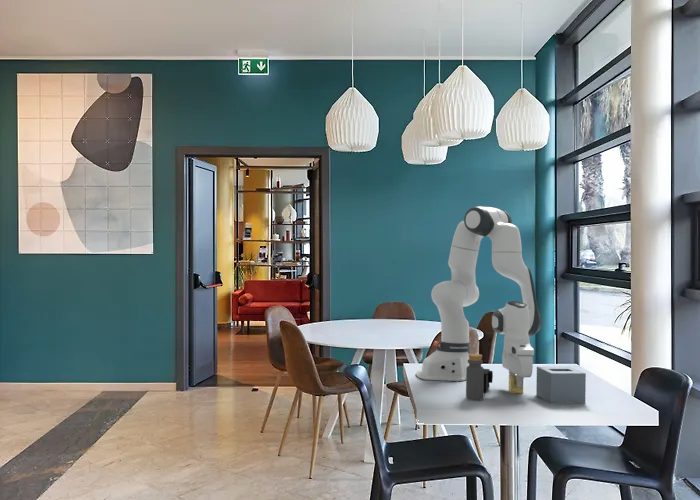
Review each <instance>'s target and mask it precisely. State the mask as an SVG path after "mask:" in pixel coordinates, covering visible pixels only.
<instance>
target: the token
mask: <svg viewBox="0 0 700 500" xmlns="http://www.w3.org/2000/svg"><path fill="white" fill-rule="evenodd" d="M516 381H517V374H515V375H509V374H508V393H509V394H524V381H523V382H522V387H517V386H516Z"/></svg>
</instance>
